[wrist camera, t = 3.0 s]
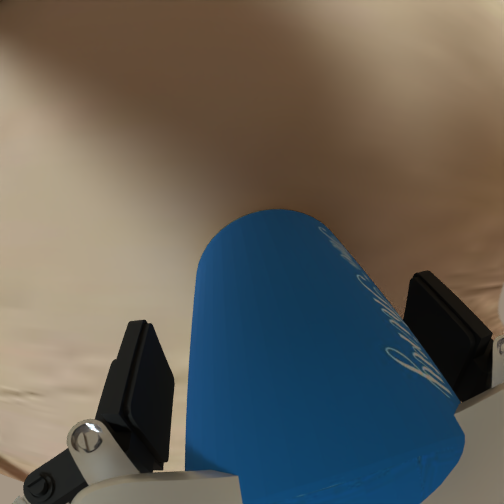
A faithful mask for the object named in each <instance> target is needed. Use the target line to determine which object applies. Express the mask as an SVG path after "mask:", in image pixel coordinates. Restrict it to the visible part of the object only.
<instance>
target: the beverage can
mask: <svg viewBox="0 0 504 504" xmlns="http://www.w3.org/2000/svg"><path fill="white" fill-rule="evenodd" d="M460 403H461V402H460V400H459V399H458V397H457V396H456V394H455V393H454V391H453V390H452V388H451V387H450V385H449V384H448V382H447V381H446V379H445V378H444V377H443V375H442V374H441V372H440V371H439V369H438V368H437V366H436V365H435V364H434V362H433V361H432V359H431V358H430V356H429V355H428V354H427V352H426V351H425V349H424V348H423V347H422V345H421V344H420V343H419V341H418V340H417V338H416V337H415V336H414V334H413V333H412V332H411V330H410V329H409V328H408V326H407V325H406V324H405V322H404V321H403V320H402V318H401V317H400V316H399V314H398V313H397V312H396V310H395V309H394V308H393V307H392V305H391V304H390V303H389V301H388V300H387V299H386V298H385V296H384V295H383V294H382V292H381V291H380V290H379V289H378V287H377V286H376V285H375V284H374V282H373V281H372V280H371V279H370V277H369V276H368V275H367V274H366V273H365V271H364V270H363V269H362V268H361V266H360V265H359V264H358V263H357V262H356V260H355V259H354V258H353V257H352V256H351V254H350V253H349V252H348V251H347V250H346V248H345V247H344V246H343V245H342V244H341V242H340V241H339V240H338V239H337V238H336V237H335V235H334V234H333V233H332V232H331V231H330V230H329V229H328V228H327V227H326V226H325V225H324V224H322V223H321V222H320V221H318V220H316V219H315V218H313V217H311V216H309V215H306V214H304V213H300V212H297V211H293V210H285V209H270V210H263V211H258V212H254V213H251V214H248V215H245V216H243V217H241V218H238V219H237V220H235V221H233V222H231V223H230V224H228V225H227V226H226V227H224V228H223V229H222V230H221V231H220V232H219V233H218V234H217V235H216V236H215V237H214V238H213V239H212V240H211V241H210V243H209V244H208V245H207V247H206V249H205V250H204V252H203V254H202V256H201V259H200V261H199V264H198V269H197V274H196V285H195V295H194V306H193V318H192V330H191V344H190V358H189V374H188V392H187V414H186V444H185V471H198V470H215V471H219V472H224V473H228V474H233V475H237V476H238V478H239V484H240V491H241V497H242V503H243V504H420V503H422V502H423V501H424V500H425V499H426V498H427V497H428V496H429V495H431V494H432V493H433V492H434V491H435V490H436V489H437V488H438V487H439V486H440V485H441V484H442V483H443V481H444V480H445V479H446V477H447V476H448V475H449V474H450V472H451V471H452V470H453V469H454V467H455V466H456V465H457V463H458V462H459V460H460V457H461V455H462V453H463V449H464V445H465V434H464V432H463V430H462V429H461V427H460V425H459V423H458V422H457V420H456V418H455V416H454V414H455V412H456V409H457V408H458V406H459V404H460Z"/></svg>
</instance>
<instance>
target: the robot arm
mask: <svg viewBox="0 0 504 504" xmlns="http://www.w3.org/2000/svg"><path fill="white" fill-rule="evenodd" d="M403 321H404V322H405V324H406V325H407V326H408V328H409V329H410V330H411V332H412V333H413V334H414V336H415V337H416V338H417V340H418V341H419V343H420V344H421V345H422V347H423V348H424V349H425V351H426V352H427V354H428V355H429V356H430V358H431V359H432V361H433V362H434V364H435V365H436V366H437V368H438V369H439V371H440V372H441V374H442V375H443V377H444V378H445V379H446V381H447V382H448V384H449V385H450V387H451V388H452V390H453V391H454V393H455V394H456V396H457V397H458V399H459V400H460V402H462V403H460V404H459V406H458V408H457V409H456V412H455V414H454V416H455V418H456V420H457V422H458V423H459V425H460V427H461V429H462V430H463V432H464V434H465V445H464V449H463V453H462V455H461V457H460V460H459V462H458V463H457V465H456V466H455V467H454V469H453V470H452V471H451V472H450V474H449V475H448V476H447V477H446V479H445V480H444V481H443V483H442V484H441V485H440V486H439V487H438V488H437V489H436V490H435V491H434V492H433V493H432V494H431V495H429V496H428V497H427V498H426V499H425V500H424V501H423V502H422V503H420V504H504V335H500V336H498V337H496V338H495V340H494V341H493V340H492V339H491V337H492V334H493V333H492V332H491V331H490V330H489V329H488V328H487V327H486V326H485V325H484V323H483V322H482V321H481V320H480V319H479V318H478V317H477V316H476V315H475V314H474V313H473V312H472V311H471V310H470V309H469V308H468V307H467V306H466V305H465V304H464V303H463V302H462V301H461V300H460V299H459V298H458V297H457V296H456V295H455V294H454V293H453V292H452V291H451V290H450V289H448V288H447V287H446V286H445V285H444V284H443V283H442V282H441V281H440V280H439V279H438V278H437V277H436V276H435V275H434V274H432V273H431V272H430V271H423V272H419V273H416V274H414V276H413V278H411V280H410V284H409V290H408V296H407V302H406V308H405V313H404V319H403ZM174 384H175V383H174V377H173V374H172V372H171V369H170V367H169V365H168V362H167V360H166V357H165V355H164V352H163V350H162V348H161V345H160V343H159V340H158V337H157V335H156V332H155V330H154V327H153V325H152V324H151V323H147V321H146V320H138V321H130V322H129V323H128V326H127V329H126V332H125V335H124V338H123V341H122V344H121V347H120V350H119V353H118V356H117V359H115V360H113V361H112V364H111V366H110V369H109V373H108V376H107V379H106V382H105V386H104V389H103V392H102V396H101V399H100V403H99V406H98V410H97V413H96V417H95V419H87V420H83V421H80V422H78V423H77V424H76V425H74V426H73V427H72V429H71V430H70V431H69V433H68V436H67V446H68V448H67V449H66V450H65V451H63V452H62V453H60V454H59V455H57V456H56V457H54V458H53V459H51V460H50V461H48V462H47V463H45V464H44V465H42V466H41V467H39V468H38V469H36V470H35V471H33V472H32V473H30V474H29V475H28V476H27V478H26V480H25V482H24V486H23V488H24V489H23V490H24V496H23V497H20V496H18V498H16V500H15V501H14V502H13V503H12V504H243V503H242V497H241V491H240V484H239V478H238V476H237V475H233V474H228V473H224V472H219V471H215V470H198V471H178V472H157V473H153V470H163V464H164V462H168V458H169V443H170V430H171V417H172V406H173V395H174Z"/></svg>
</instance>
